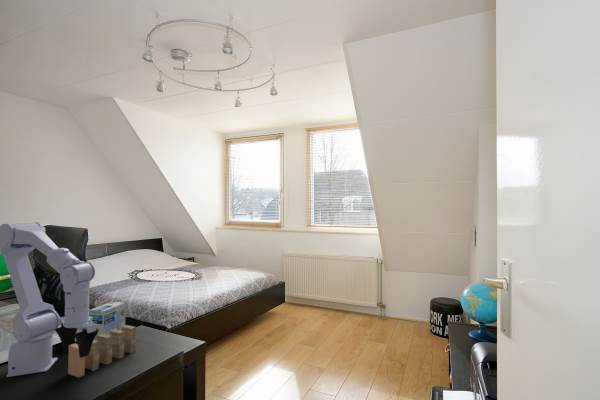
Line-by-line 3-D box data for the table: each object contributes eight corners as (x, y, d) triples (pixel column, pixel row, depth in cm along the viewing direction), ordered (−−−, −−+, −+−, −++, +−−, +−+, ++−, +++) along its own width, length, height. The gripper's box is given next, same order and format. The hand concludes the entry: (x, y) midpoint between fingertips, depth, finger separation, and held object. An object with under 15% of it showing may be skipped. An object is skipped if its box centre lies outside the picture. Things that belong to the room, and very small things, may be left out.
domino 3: (106, 364, 94) (107, 338, 94) (96, 361, 96) (96, 335, 96) (111, 362, 95) (112, 336, 96) (101, 359, 98) (102, 333, 98)
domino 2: (93, 370, 90) (93, 343, 91) (82, 367, 93) (83, 340, 93) (98, 368, 92) (99, 341, 92) (88, 364, 94) (88, 338, 94)
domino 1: (78, 377, 87) (78, 348, 87) (68, 373, 89) (68, 345, 89) (84, 374, 88) (84, 346, 88) (74, 371, 90) (74, 343, 91)
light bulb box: (103, 341, 111) (104, 310, 111) (87, 339, 112) (88, 309, 113) (126, 329, 121) (126, 302, 122) (111, 328, 123) (111, 301, 123)
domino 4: (119, 358, 98) (119, 333, 98) (109, 355, 100) (109, 330, 100) (124, 356, 99) (124, 331, 99) (113, 353, 101) (114, 328, 101)
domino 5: (130, 353, 101) (131, 328, 101) (120, 350, 103) (121, 326, 104) (135, 351, 103) (135, 327, 103) (125, 348, 105) (125, 324, 105)
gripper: (107, 305, 90) (106, 352, 89) (77, 298, 96) (76, 343, 95) (81, 312, 83) (80, 363, 83) (51, 305, 89) (50, 352, 89)
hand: (76, 353), depth 89 cm, fingers open, 7 cm apart
